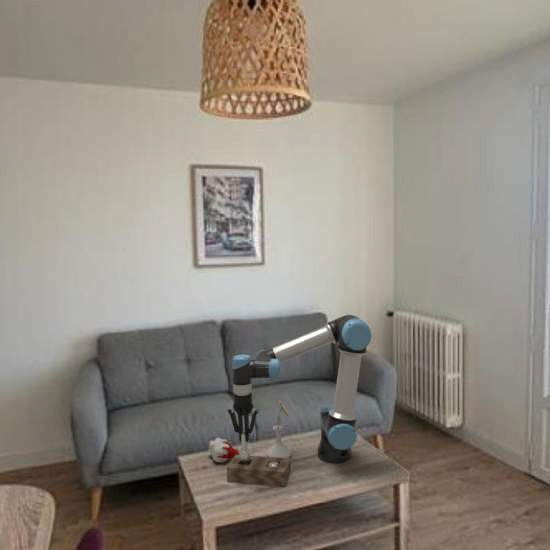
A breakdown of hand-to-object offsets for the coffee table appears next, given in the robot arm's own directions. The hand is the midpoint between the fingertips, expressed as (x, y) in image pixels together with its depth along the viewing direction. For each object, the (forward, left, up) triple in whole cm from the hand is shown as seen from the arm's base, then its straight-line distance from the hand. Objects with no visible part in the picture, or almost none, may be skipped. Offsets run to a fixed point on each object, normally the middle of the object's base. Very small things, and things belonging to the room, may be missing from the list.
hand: (244, 448), depth 207 cm
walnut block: (-6, 0, -12) cm, 13 cm away
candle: (+14, -12, -12) cm, 22 cm away
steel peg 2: (-12, 0, -11) cm, 16 cm away
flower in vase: (-10, -20, -12) cm, 25 cm away
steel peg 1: (0, 0, -6) cm, 6 cm away
